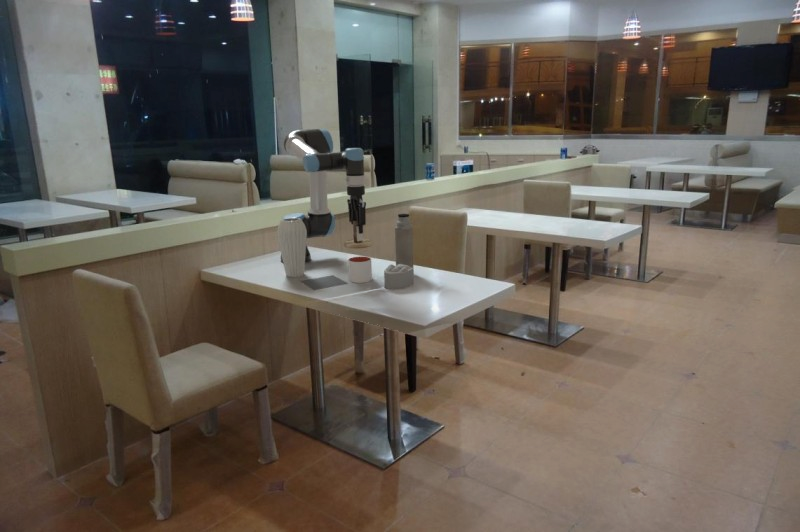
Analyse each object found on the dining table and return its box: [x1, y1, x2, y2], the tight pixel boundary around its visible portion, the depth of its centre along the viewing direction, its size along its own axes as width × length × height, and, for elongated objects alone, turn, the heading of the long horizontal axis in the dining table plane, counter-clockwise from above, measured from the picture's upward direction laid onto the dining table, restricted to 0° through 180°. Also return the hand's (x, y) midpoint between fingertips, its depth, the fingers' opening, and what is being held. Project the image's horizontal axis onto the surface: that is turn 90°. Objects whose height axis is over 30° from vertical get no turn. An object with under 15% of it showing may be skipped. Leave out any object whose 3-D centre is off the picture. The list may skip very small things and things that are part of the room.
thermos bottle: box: [394, 213, 415, 276], centre depth 253 cm, size 8×8×28 cm
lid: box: [343, 221, 373, 249], centre depth 243 cm, size 12×12×10 cm
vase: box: [276, 218, 307, 278], centre depth 256 cm, size 13×13×26 cm
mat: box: [299, 274, 349, 291], centre depth 246 cm, size 16×16×1 cm
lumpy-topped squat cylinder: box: [383, 263, 414, 291], centre depth 240 cm, size 10×13×9 cm
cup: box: [347, 256, 373, 284], centre depth 247 cm, size 10×10×10 cm
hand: (358, 239), depth 244 cm, fingers closed on lid, 4 cm apart
